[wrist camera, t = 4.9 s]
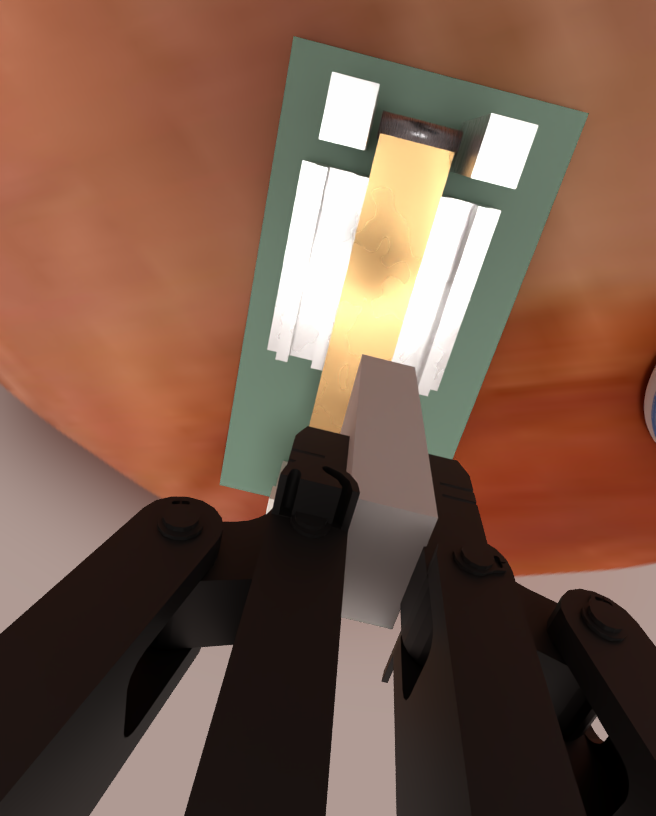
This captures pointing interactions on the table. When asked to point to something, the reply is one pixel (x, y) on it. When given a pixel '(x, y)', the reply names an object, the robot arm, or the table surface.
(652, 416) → the supplement tub
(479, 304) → the board
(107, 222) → the table surface
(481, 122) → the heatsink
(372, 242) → the strap
